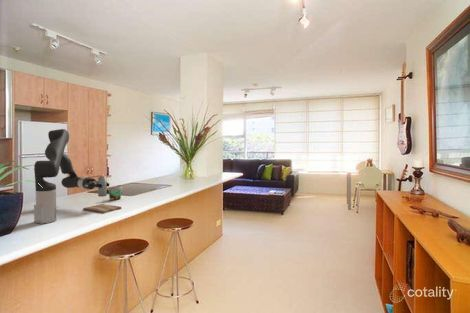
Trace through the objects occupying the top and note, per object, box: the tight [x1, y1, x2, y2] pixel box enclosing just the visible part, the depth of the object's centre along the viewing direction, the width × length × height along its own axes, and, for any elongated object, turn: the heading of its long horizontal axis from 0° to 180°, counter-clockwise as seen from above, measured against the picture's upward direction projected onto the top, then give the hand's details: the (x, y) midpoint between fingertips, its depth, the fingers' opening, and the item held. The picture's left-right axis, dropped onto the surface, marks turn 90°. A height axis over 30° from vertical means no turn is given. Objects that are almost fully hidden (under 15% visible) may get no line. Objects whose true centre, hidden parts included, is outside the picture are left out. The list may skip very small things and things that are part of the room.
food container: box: [108, 184, 123, 202], centre depth 211 cm, size 12×6×10 cm, turn 168°
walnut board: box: [82, 203, 122, 214], centre depth 180 cm, size 14×18×1 cm
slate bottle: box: [97, 174, 108, 198], centre depth 179 cm, size 5×5×14 cm
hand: (105, 185), depth 178 cm, fingers closed on slate bottle, 5 cm apart
